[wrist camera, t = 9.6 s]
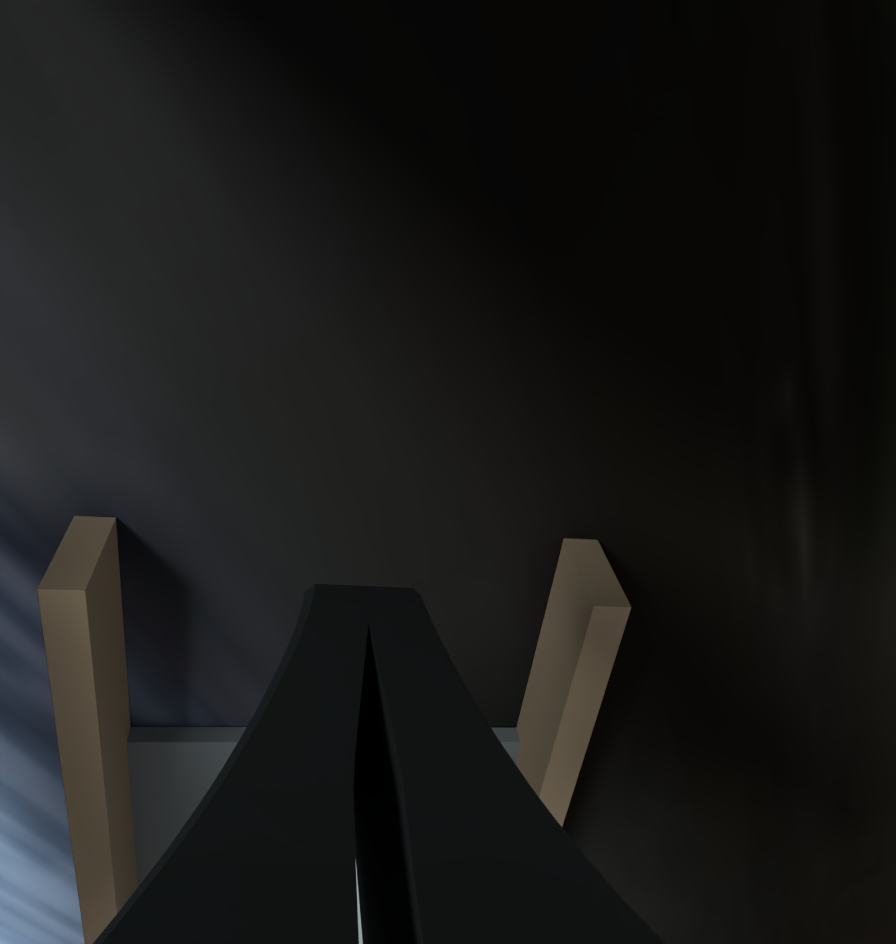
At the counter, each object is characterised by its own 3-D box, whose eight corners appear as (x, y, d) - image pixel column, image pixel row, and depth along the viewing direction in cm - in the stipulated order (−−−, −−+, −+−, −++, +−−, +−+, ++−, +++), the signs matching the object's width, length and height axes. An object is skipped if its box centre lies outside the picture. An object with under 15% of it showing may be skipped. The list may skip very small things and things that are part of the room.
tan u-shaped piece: (121, 980, 30) (101, 1070, 28) (74, 515, 20) (36, 589, 18) (481, 962, 33) (493, 1043, 30) (597, 539, 23) (631, 607, 20)
